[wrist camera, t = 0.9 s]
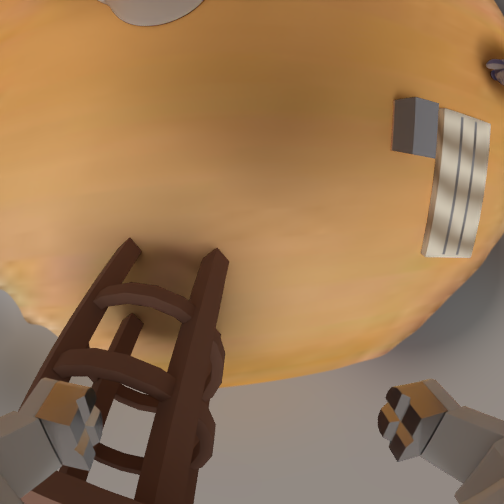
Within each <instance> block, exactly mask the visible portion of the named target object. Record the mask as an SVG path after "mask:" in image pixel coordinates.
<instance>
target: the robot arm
mask: <svg viewBox="0 0 504 504" xmlns="http://www.w3.org/2000/svg"><path fill="white" fill-rule="evenodd" d="M98 1H100V2H102V3H104V4H107V5H108V6H109V7H110V8H111V9H112V11H113V12H114V14H115V15H116V16H117V17H118V18H120V19H121V20H123V21H125V22H127V23H130V24H133V25H138V26H153V25H160V24H164V23H168V22H171V21H173V20H176V19H178V18H180V17H182V16H184V15H186V14H188V13H189V12H191V11H192V10H193V9H195V8H196V7H197V6H198V5H199V4H200V3H201V2H202V1H203V0H98ZM96 400H97V397H96V394H95V391H94V389H92V388H91V387H86V386H81V385H77V384H72V383H68V382H63V381H57V380H53V379H49V378H46V377H45V378H43V379H41V380H40V381H39V383H38V384H37V385H36V387H35V388H34V390H33V391H32V393H31V394H30V395H29V397H28V398H27V400H26V401H25V403H24V404H23V406H22V407H21V409H20V410H19V412H15V411H13V412H11V413H8V414H6V415H4V416H2V417H0V504H24V502H23V501H22V500H21V499H20V498H22V497H23V496H24V495H26V494H27V493H28V492H30V491H31V490H32V489H34V488H35V487H36V486H37V485H39V484H40V483H41V482H43V481H44V480H45V479H46V478H48V477H49V476H50V475H51V474H53V473H54V472H55V471H57V470H58V469H59V468H60V467H62V465H66V466H70V467H74V468H78V469H82V470H87V471H90V469H91V466H92V463H93V460H94V457H95V454H96V453H95V451H94V448H93V446H94V445H96V444H97V443H99V442H100V439H101V436H102V429H103V421H102V415H101V412H100V410H99V409H98V408H97V407H96V406H95V403H96ZM386 400H387V402H388V403H387V404H386V405H384V407H382V408H381V410H380V413H379V416H378V428H379V431H380V433H381V434H382V437H383V438H385V439H387V440H389V441H390V444H389V448H390V450H391V452H392V453H393V455H394V457H395V458H396V460H397V462H399V461H403V460H406V459H410V458H414V457H417V456H420V455H421V457H422V458H423V459H425V460H426V461H428V462H429V463H431V464H433V465H434V466H436V467H437V468H439V469H440V470H442V471H444V472H445V473H447V474H449V475H450V476H452V477H454V478H455V479H457V480H459V481H460V482H462V483H463V485H462V486H461V487H460V488H459V489H458V491H457V492H456V493H455V498H456V500H457V501H458V503H459V504H504V421H503V420H500V419H497V418H495V417H492V416H490V415H487V414H484V413H481V412H479V411H476V410H474V409H471V408H468V407H466V406H463V407H461V406H460V405H459V404H458V403H457V402H456V401H455V400H454V399H453V398H452V397H451V396H450V395H449V394H448V392H447V391H446V390H445V389H444V388H443V387H442V386H441V385H440V384H439V383H438V382H437V381H436V380H434V379H427V380H423V381H419V382H415V383H411V384H405V385H400V386H395V387H391V388H390V390H389V391H388V393H387V395H386ZM61 464H62V465H61Z"/></svg>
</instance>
